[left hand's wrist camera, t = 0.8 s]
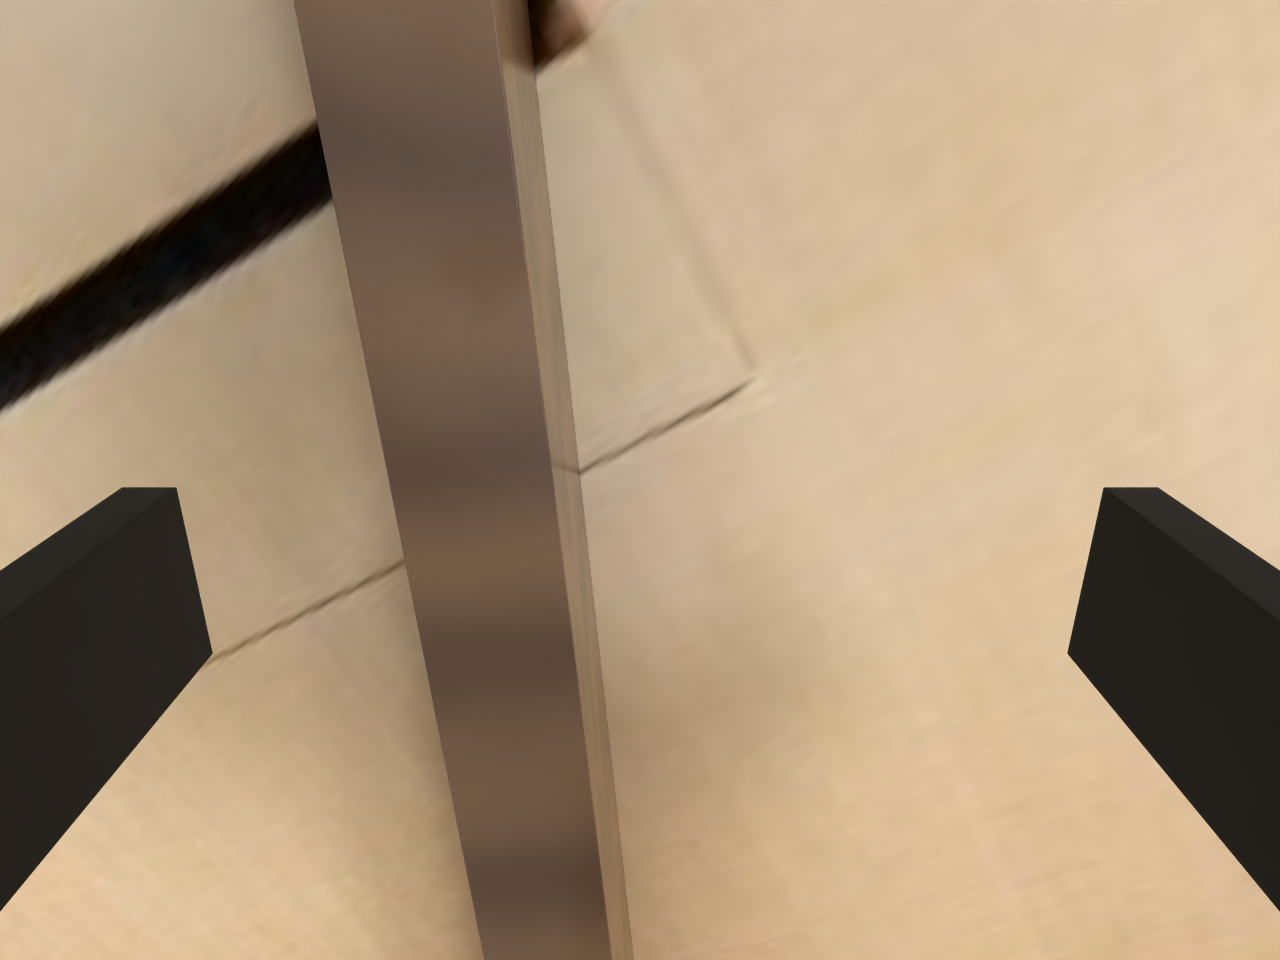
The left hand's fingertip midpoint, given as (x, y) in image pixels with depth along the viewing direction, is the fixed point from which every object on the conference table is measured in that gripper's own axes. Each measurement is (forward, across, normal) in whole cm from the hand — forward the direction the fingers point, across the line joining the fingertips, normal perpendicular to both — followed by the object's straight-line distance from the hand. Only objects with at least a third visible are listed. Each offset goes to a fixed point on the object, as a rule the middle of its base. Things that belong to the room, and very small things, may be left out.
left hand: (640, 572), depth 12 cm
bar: (+21, -4, -20) cm, 30 cm away
